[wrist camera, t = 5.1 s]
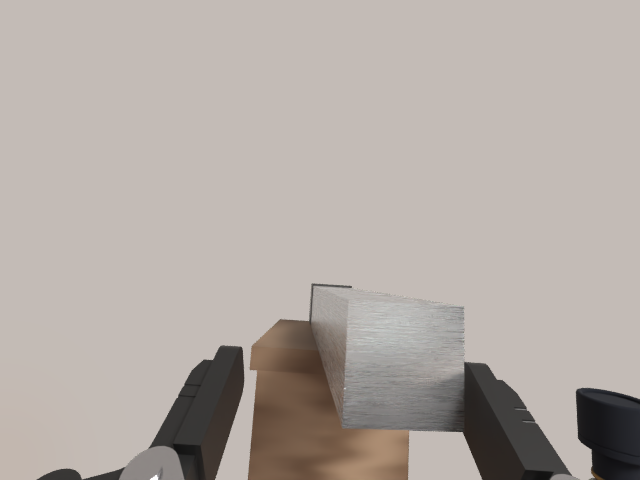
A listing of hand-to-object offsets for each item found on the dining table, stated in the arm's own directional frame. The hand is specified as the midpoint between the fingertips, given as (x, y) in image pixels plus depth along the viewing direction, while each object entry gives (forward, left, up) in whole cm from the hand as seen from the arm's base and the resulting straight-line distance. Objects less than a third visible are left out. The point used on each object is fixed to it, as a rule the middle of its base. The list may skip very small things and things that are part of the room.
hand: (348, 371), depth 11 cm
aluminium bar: (-1, -11, -1) cm, 11 cm away
